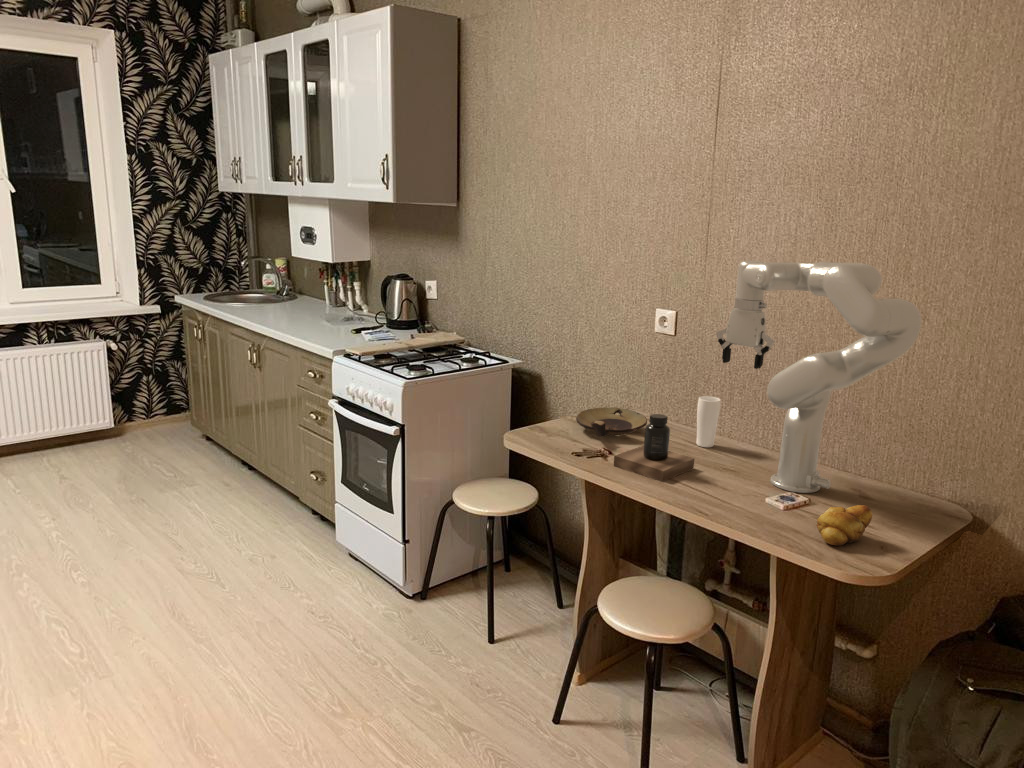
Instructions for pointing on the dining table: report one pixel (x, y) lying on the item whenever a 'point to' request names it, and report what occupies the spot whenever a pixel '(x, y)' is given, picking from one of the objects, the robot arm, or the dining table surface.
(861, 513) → the bread roll
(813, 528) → the dining table surface
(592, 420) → the olive brown shallow dish
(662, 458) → the supplement bottle
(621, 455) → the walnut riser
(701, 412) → the drinking glass
